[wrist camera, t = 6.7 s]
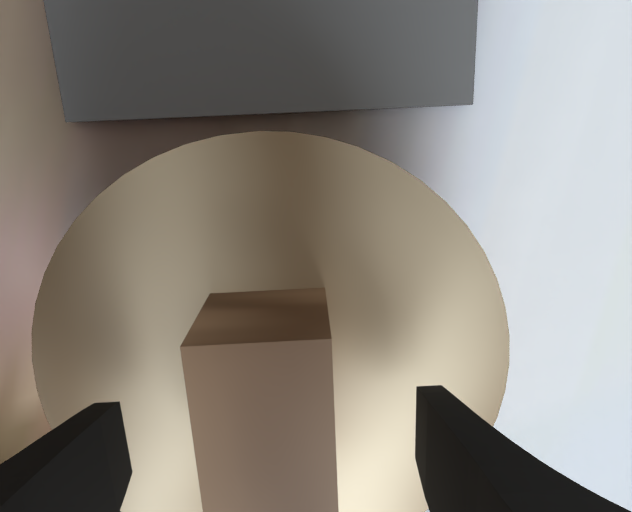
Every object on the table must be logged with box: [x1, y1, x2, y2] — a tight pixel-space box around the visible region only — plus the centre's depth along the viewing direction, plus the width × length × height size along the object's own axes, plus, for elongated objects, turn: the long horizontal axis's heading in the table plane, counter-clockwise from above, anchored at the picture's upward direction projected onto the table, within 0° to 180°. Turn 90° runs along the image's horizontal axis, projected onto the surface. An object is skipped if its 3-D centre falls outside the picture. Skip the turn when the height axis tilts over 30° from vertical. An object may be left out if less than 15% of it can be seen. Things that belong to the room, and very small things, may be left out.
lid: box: [32, 131, 509, 512], centre depth 12 cm, size 13×13×4 cm
